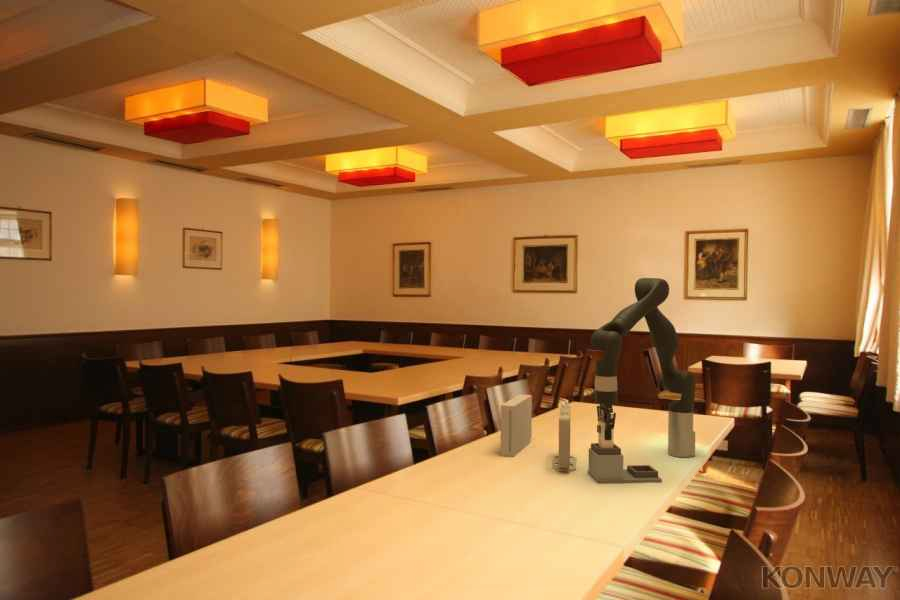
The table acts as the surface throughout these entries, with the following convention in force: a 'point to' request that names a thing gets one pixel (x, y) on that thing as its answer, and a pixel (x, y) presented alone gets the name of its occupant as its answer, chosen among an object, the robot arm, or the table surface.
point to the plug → (601, 436)
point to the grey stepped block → (617, 467)
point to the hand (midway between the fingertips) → (605, 438)
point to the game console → (516, 424)
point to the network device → (564, 441)
